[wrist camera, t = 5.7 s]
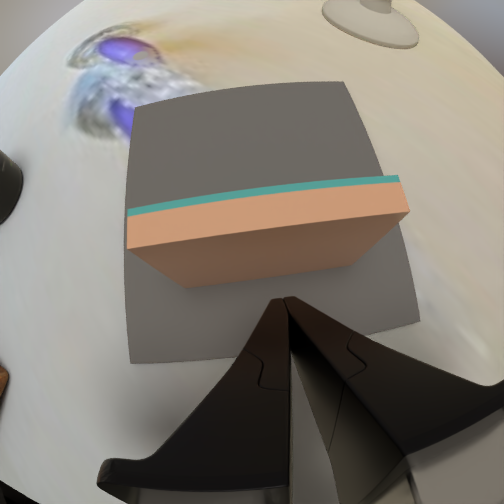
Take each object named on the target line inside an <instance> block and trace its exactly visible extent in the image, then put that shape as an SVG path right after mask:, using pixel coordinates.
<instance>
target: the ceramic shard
mask: <svg viewBox="0 0 504 504" xmlns="http://www.w3.org/2000/svg"><path fill="white" fill-rule="evenodd" d="M7 380H8V373H7V371H6V370H5V369H4V368H2V367H1V366H0V397H1V394H2V392H3V390H4V387H5V385H6V383H7Z"/></svg>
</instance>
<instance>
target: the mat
mask: <svg viewBox="0 0 504 504" xmlns="http://www.w3.org/2000/svg"><path fill="white" fill-rule="evenodd" d="M375 176H383V173H382V170H381V167H380V165H379V162H378V159H377V157H376V154H375V151H374V149H373V146H372V144H371V141H370V139H369V136H368V134H367V132H366V129H365V127H364V125H363V122H362V120H361V118H360V115H359V113H358V111H357V109H356V107H355V104H354V102H353V100H352V98H351V96H350V94H349V92H348V90H347V88H346V86H345V84H344V82H294V83H278V84H265V85H255V86H245V87H237V88H230V89H222V90H216V91H210V92H204V93H198V94H192V95H187V96H182V97H177V98H173V99H168V100H164V101H159V102H155V103H151V104H147V105H143V106H139V107H135V111H134V118H133V125H132V133H131V141H130V149H129V159H128V170H127V182H126V197H125V219H124V285H125V307H126V322H127V334H128V345H129V355H130V364H136V363H164V362H182V361H196V360H208V359H219V358H229V357H238V355H239V353H240V352H241V350H242V349H243V347H244V345H245V344H246V342H247V340H248V339H249V337H250V335H251V333H252V332H253V330H254V328H255V326H256V325H257V323H258V321H259V319H260V318H261V316H262V314H263V312H264V311H265V309H266V307H267V305H268V304H269V302H270V300H271V299H275V298H282V299H283V298H284V297H288V296H296V297H297V298H299V299H301V300H302V301H304V302H306V303H308V304H309V305H311V306H313V307H314V308H316V309H318V310H319V311H321V312H323V313H325V314H326V315H328V316H330V317H332V318H333V319H335V320H337V321H338V322H340V323H342V324H344V325H345V326H347V327H349V328H351V329H352V330H354V331H357V332H358V333H360V334H362V335H368V334H372V333H376V332H381V331H385V330H389V329H393V328H397V327H401V326H404V325H408V324H412V323H415V322H419V321H420V315H419V309H418V304H417V298H416V293H415V288H414V283H413V278H412V274H411V269H410V265H409V261H408V256H407V252H406V248H405V244H404V241H403V237H402V233H401V230H400V226H399V223H397V224H396V225H395V226H394V227H393V228H392V229H391V230H390V231H389V232H388V233H387V234H386V235H385V236H384V237H382V238H381V239H380V240H379V241H378V242H377V243H376V244H375V245H374V246H373V247H371V248H370V249H369V250H368V251H367V252H366V253H365V254H364V255H363V256H361V257H360V258H359V259H358V260H357V261H356V262H355V263H353V264H352V265H349V266H343V267H336V268H330V269H323V270H317V271H310V272H303V273H297V274H290V275H283V276H276V277H269V278H261V279H254V280H247V281H239V282H232V283H224V284H216V285H208V286H200V287H192V288H184V287H182V286H180V285H179V284H177V283H176V282H174V281H173V280H171V279H170V278H168V277H167V276H165V275H164V274H162V273H161V272H159V271H158V270H156V269H155V268H154V267H152V266H151V265H149V264H148V263H146V262H145V261H143V260H142V259H140V258H139V257H138V256H136V255H135V254H133V253H132V252H130V251H129V250H128V249H127V215H128V209H131V208H136V207H142V206H147V205H152V204H158V203H163V202H169V201H174V200H180V199H186V198H192V197H198V196H204V195H211V194H217V193H224V192H231V191H238V190H245V189H253V188H261V187H269V186H277V185H286V184H295V183H304V182H314V181H324V180H335V179H347V178H361V177H375Z"/></svg>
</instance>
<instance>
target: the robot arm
mask: <svg viewBox="0 0 504 504" xmlns="http://www.w3.org/2000/svg"><path fill="white" fill-rule="evenodd" d="M291 354H292V357H293V360H294V363H295V365H296V368H297V371H298V374H299V376H300V379H301V382H302V384H303V387H304V390H305V393H306V395H307V398H308V401H309V404H310V406H311V409H312V412H313V415H314V417H315V420H316V423H317V425H318V428H319V431H320V434H321V436H322V439H323V442H324V445H325V447H326V450H327V453H328V456H329V458H330V462H331V465H332V469H333V473H334V478H335V483H336V488H337V493H338V499H339V504H504V380H502V381H500V382H499V383H497V384H495V385H492V386H483V385H479V384H476V383H474V382H471V381H469V380H466V379H463V378H461V377H458V376H456V375H453V374H451V373H448V372H446V371H443V370H441V369H438V368H436V367H434V366H431V365H429V364H426V363H424V362H421V361H419V360H417V359H414V358H412V357H409V356H407V355H405V354H402V353H400V352H397V351H395V350H393V349H390V348H388V347H386V346H384V345H381V344H379V343H377V342H375V341H373V340H371V339H369V338H367V337H365V336H364V335H362V334H360V333H358V332H357V331H354V330H352V329H351V328H349V327H347V326H345V325H344V324H342V323H340V322H338V321H337V320H335V319H333V318H332V317H330V316H328V315H326V314H325V313H323V312H321V311H319V310H318V309H316V308H314V307H313V306H311V305H309V304H308V303H306V302H304V301H302V300H301V299H299V298H297V297H296V296H288V297H284V298H283V299H282V298H275V299H271V300H270V302H269V304H268V305H267V307H266V309H265V311H264V312H263V314H262V316H261V318H260V319H259V321H258V323H257V325H256V326H255V328H254V330H253V332H252V333H251V335H250V337H249V339H248V340H247V342H246V344H245V345H244V347H243V349H242V350H241V352H240V353H239V355H238V357H237V358H236V360H235V361H234V363H233V364H232V366H231V367H230V369H229V370H228V371H227V372H226V374H225V375H224V376H223V377H222V379H221V380H220V381H219V382H218V383H217V384H216V386H215V387H214V388H213V389H212V390H211V391H210V392H209V394H208V395H207V396H206V397H205V398H204V399H203V401H202V402H201V403H200V404H199V405H198V406H197V407H196V408H195V410H194V411H193V412H192V413H191V414H190V415H189V416H188V417H187V419H186V420H185V421H184V422H183V423H182V424H181V425H180V426H179V427H178V428H177V430H176V431H175V432H174V433H173V434H172V435H171V436H170V437H169V438H168V439H167V440H166V441H165V442H164V444H163V445H162V446H161V447H160V448H159V449H158V450H157V451H156V452H155V453H154V454H153V455H151V456H149V457H147V458H145V459H141V460H131V459H122V458H110V459H106V460H105V461H104V462H103V463H102V465H101V467H100V471H99V473H98V477H97V486H98V487H99V488H100V489H102V490H103V491H105V492H107V493H109V494H110V495H112V496H114V497H116V498H118V499H120V500H122V501H124V502H125V503H127V504H292V487H293V429H292V375H291ZM0 504H39V503H37V502H35V501H34V500H32V499H30V498H28V497H26V496H25V495H24V494H22V493H20V492H18V491H17V490H15V489H13V488H12V487H10V486H9V485H7V484H5V483H4V482H2V481H1V480H0Z"/></svg>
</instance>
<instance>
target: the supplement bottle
mask: <svg viewBox="0 0 504 504" xmlns="http://www.w3.org/2000/svg"><path fill="white" fill-rule="evenodd" d="M21 187H22V173H21V170H20V168H19V167H18V166H17V165H16V164H15V163H14V162H13V161H12V160H11V159H10V158H9V157H8V156H7V155H5V154H4V153H3V152H2V151H1V150H0V223H1V222H2V221H3V220H4V219H5V218H6V217H7V216H8V215H9V214H10V212H11V211H12V209H13V208H14V206H15V204H16V202H17V200H18V197H19V194H20V191H21Z"/></svg>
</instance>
